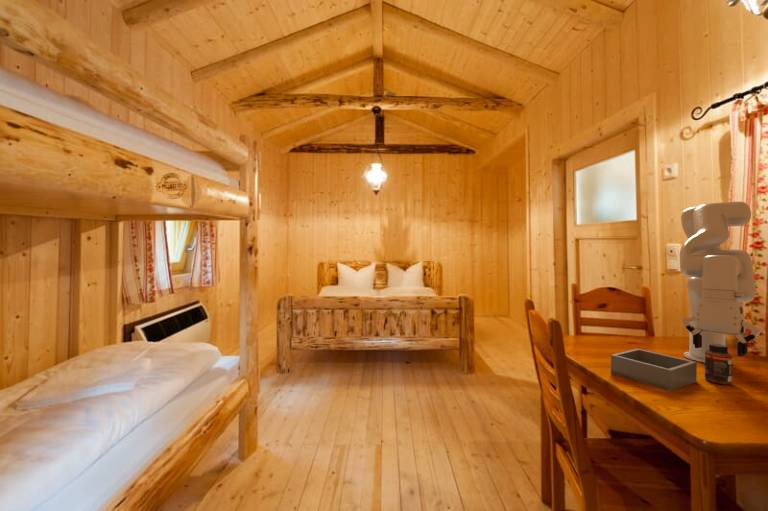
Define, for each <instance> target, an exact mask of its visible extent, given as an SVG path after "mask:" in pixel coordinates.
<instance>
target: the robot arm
mask: <svg viewBox="0 0 768 511" xmlns="http://www.w3.org/2000/svg"><path fill="white" fill-rule="evenodd" d="M751 217H752V210H751V207H750V206H749V204H748V203H746V202H744V201H726V202H724V201H722V202H713V203H712V202H710V203H705V204H701V205H697V206H691V207H688V208H686V209H684V210H683V211H682V213H681V215H680V221H681V226H682V230H683V232H684V234H685V237H686V238H687V240H686V241H685V242H684V243H683V244H682V245H681V248H680V251H679V268H680V269H679V270H680V272H681V273H682V275H683V276H685V277H688V279H687V282H686V288H687V294H688V295H687V296H688V301H689V302H688V303H689V304H688V305H689V317H687V318H683V319H682V321H681V322H682V323H683V325H684V326H685V328H686V329H687V330H688V332H689V351H684V352H683V356H684V357H685V358H687V359H688V360H690V361H694V362H699V363H704V364H705V351H707V350H709V349H710V348H709V344H721V345H725V346H726V335H730V336H734V337H735V338H737V340H738V342H737V353H736V354H737V356H738V357H745V356H746V355H747V354H748V343H749V342H751V341H753V340H755V339H757V337H758V336H759V335H760V334H761V332H762V329H760V328H758V327H757V326H755V325H753V324H751V323H748V322H746V318H745V312H744V307H743V306H744V305H743V303H744V304H745V303H750V302H752V301H753V300H755V297H756V294H757V293H756V291H757V290H756V282H755V277H754V276H755V274H754V267H753V262H752V258H751V257H752V256H751V255H750V253H748V252H747V251H746V250H743V249H722V247H721V245H722V244H724V243H726V241H728V240H729V238H730V230H729V227H742V226H746V225H748V224H749V222H750V221H751V219H752V218H751ZM746 329H747V330H750V333H749V334H748V335H745V333H746Z"/></svg>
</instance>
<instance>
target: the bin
mask: <svg viewBox="0 0 768 511" xmlns="http://www.w3.org/2000/svg"><path fill="white" fill-rule="evenodd" d="M697 362H698V361H694V360H690V359H685V358H680V357H675V356H671V355H667V354H663V353H658V352H654V351H649V350H645V349H641V348H634V349H630V350H626V351H622V352H617V353H614V354H610V374H612V375H615V376H619V377H622V378H626V379H629V380H632V381H636V382H639V383H642V384H645V385H649V386H651V387H655V388H657V389H661V390H664V391H669V392H673V391H676V390H678V389H681V388H683V387H686V386H688V385H692V384H694V383H697V378H698V377H697V375H698V374H697V373H698V372H697V371H698V370H697V369H698V368H697V364H698V363H697Z"/></svg>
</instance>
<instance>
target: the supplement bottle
mask: <svg viewBox="0 0 768 511" xmlns="http://www.w3.org/2000/svg"><path fill="white" fill-rule="evenodd" d="M709 348H710V349H709V350H707V351H705V363H704V379H705V380H706V381H708V382H711V383H714V384H717V385H724V386H726V385H727V386H729V385H732V384H733V355H732V354H731V353H729V349H728V348H729V347H728V345H726V344H725V345H721V344H709Z"/></svg>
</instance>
